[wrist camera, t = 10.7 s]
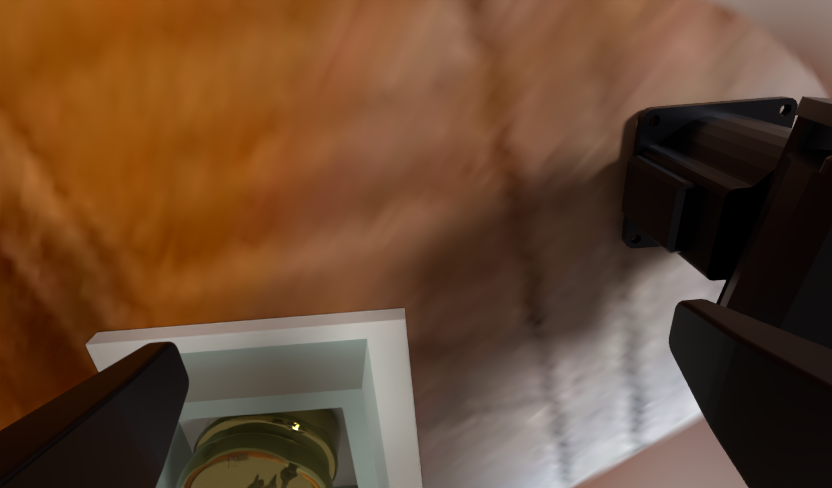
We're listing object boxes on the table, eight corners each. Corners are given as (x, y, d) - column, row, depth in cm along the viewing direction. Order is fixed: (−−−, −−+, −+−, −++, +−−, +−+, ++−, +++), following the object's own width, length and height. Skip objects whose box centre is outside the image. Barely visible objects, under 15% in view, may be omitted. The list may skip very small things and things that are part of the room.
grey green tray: (404, 307, 23) (405, 367, 19) (422, 486, 29) (426, 560, 25) (97, 332, 23) (33, 396, 19) (178, 505, 30) (144, 581, 25)
